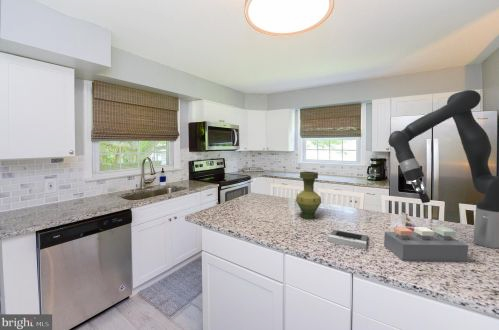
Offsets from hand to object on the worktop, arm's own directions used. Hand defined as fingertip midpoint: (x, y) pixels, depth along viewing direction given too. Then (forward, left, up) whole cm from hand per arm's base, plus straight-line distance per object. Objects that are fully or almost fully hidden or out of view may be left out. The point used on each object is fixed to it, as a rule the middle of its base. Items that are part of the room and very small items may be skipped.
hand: (426, 202), depth 105 cm
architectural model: (-11, -31, -22) cm, 40 cm away
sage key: (-5, +5, -16) cm, 18 cm away
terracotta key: (+13, +5, -16) cm, 21 cm away
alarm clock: (+31, -9, -22) cm, 39 cm away
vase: (+44, -44, -22) cm, 66 cm away
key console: (+4, +5, -22) cm, 23 cm away
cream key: (+4, +5, -16) cm, 17 cm away
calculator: (-3, -12, -22) cm, 25 cm away
